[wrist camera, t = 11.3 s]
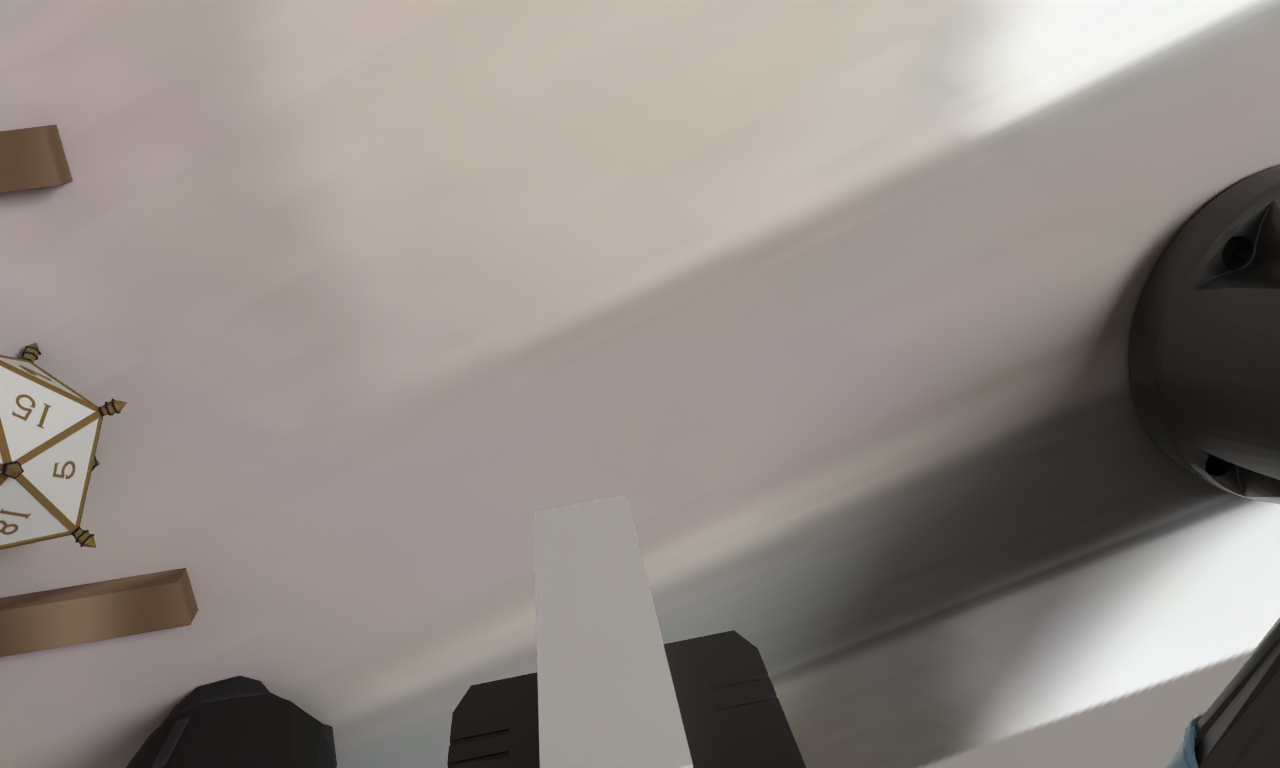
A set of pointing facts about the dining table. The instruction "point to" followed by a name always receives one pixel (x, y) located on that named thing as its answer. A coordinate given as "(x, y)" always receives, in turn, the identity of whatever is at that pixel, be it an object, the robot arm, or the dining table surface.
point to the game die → (44, 453)
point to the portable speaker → (237, 732)
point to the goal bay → (97, 605)
